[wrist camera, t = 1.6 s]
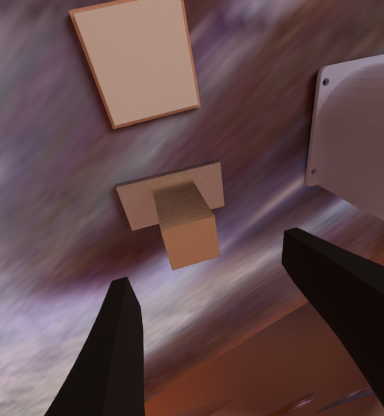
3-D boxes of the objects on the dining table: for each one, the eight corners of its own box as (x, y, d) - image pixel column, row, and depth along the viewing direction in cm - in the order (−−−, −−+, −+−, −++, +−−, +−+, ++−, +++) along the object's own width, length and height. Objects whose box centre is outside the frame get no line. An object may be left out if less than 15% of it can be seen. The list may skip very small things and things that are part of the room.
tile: (197, 104, 16) (201, 107, 15) (114, 126, 16) (113, 129, 15) (177, -8, 13) (181, -15, 12) (72, 15, 12) (67, 9, 11)
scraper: (221, 201, 20) (257, 250, 14) (132, 225, 19) (133, 288, 13) (216, 158, 18) (257, 196, 12) (116, 183, 17) (109, 236, 11)
